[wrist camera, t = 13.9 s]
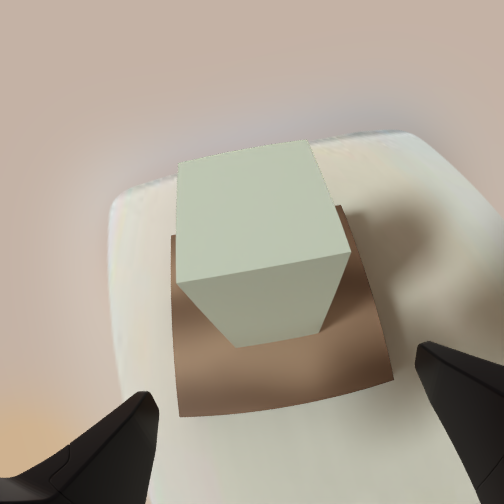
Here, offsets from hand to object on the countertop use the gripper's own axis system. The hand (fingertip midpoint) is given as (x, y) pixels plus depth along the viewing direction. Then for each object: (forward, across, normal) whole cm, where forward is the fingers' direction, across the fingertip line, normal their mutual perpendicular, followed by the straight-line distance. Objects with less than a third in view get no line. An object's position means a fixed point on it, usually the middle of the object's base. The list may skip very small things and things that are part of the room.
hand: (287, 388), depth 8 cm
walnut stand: (+11, 0, +3) cm, 12 cm away
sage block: (+10, 0, +2) cm, 10 cm away
